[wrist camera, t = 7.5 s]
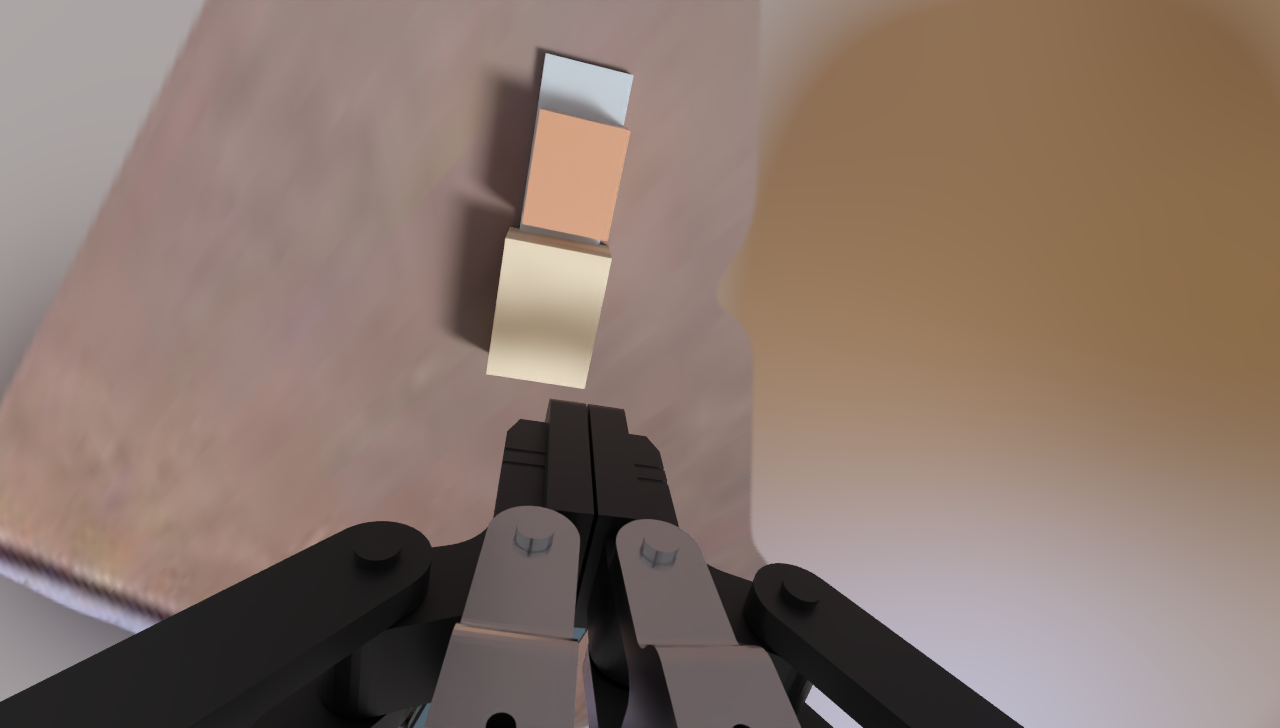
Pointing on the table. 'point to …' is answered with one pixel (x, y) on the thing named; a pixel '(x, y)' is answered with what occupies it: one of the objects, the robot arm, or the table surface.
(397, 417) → the table surface
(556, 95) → the mat
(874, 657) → the robot arm
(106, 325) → the table surface
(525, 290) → the deck
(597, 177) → the tile
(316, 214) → the table surface
